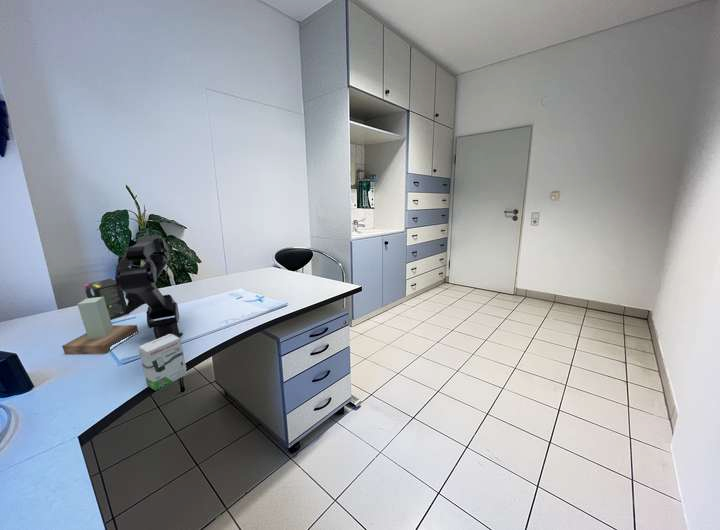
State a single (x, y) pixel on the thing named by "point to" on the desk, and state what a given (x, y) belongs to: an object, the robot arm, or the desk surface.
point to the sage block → (95, 317)
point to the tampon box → (108, 296)
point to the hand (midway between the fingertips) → (128, 307)
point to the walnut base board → (99, 341)
